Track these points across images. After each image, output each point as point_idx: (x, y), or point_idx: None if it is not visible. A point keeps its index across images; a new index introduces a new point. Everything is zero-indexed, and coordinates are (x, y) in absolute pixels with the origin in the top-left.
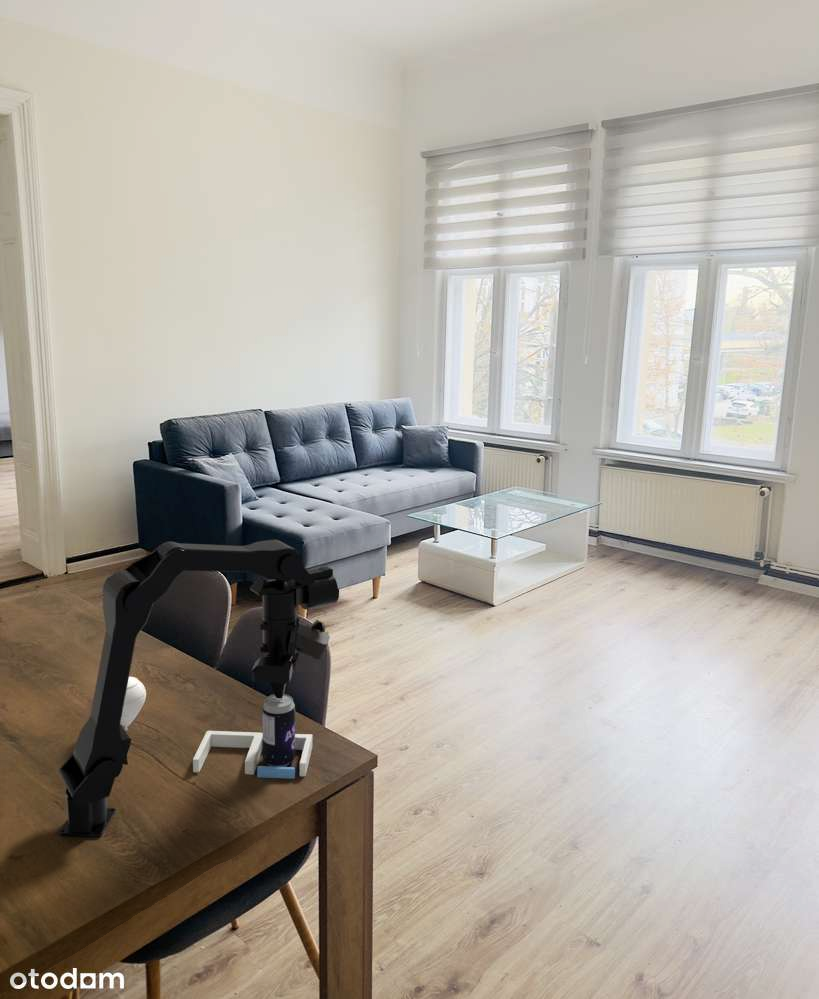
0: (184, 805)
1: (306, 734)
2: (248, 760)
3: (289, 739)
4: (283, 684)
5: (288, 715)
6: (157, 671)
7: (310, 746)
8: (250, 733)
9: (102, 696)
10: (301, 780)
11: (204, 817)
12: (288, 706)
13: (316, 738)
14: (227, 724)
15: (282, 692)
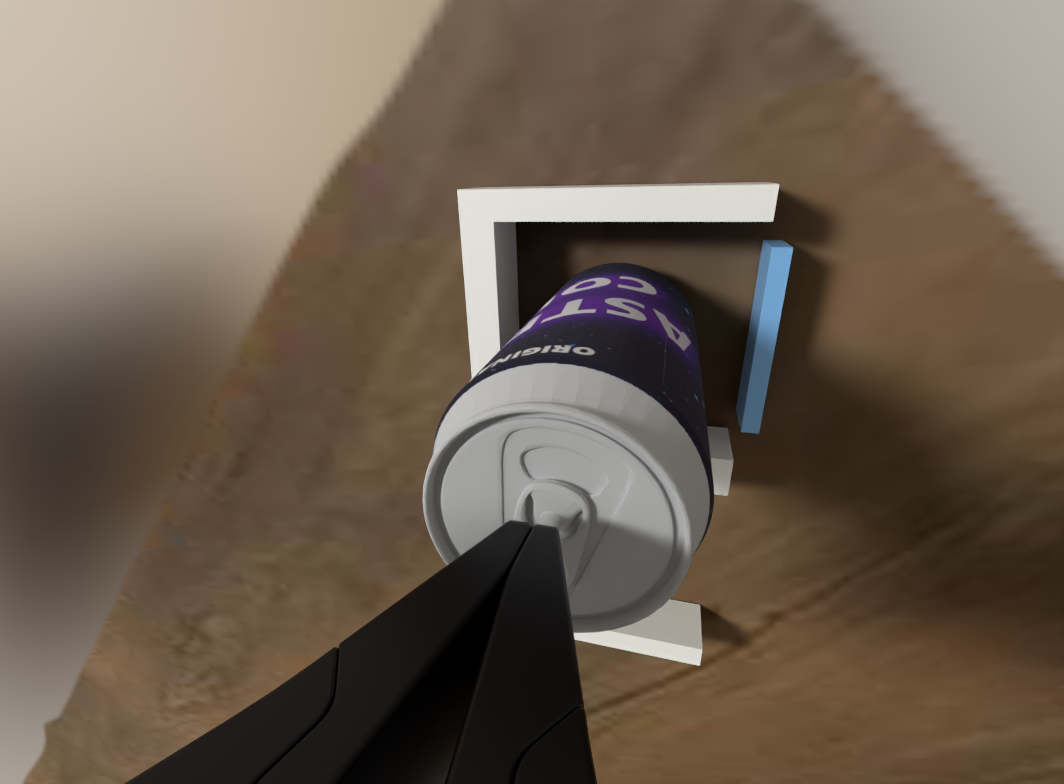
0: (931, 643)
1: (462, 225)
2: (721, 481)
3: (671, 318)
4: (580, 707)
5: (674, 396)
6: (185, 688)
7: (546, 187)
8: None
9: None
10: (802, 198)
11: (1053, 585)
12: (638, 434)
13: (408, 177)
14: (383, 531)
15: (565, 583)
